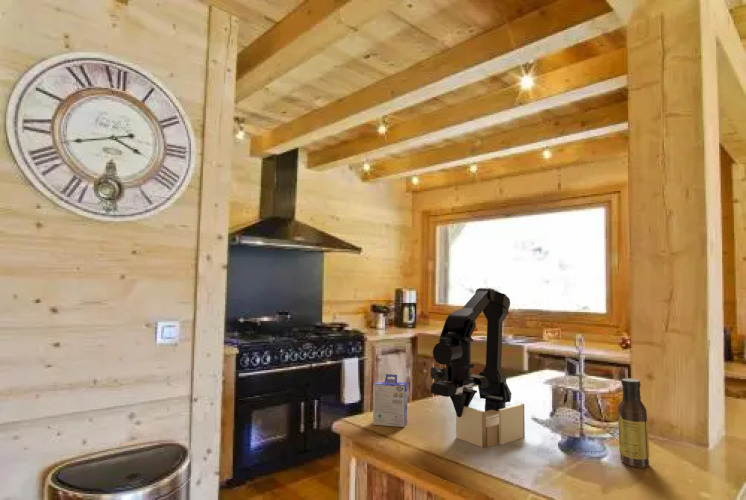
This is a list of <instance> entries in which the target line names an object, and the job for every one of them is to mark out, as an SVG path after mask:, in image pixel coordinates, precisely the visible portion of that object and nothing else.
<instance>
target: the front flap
mask: <svg viewBox="0 0 746 500" xmlns="http://www.w3.org/2000/svg"><path fill="white" fill-rule="evenodd" d="M455 421H456V422H455V433H456V434H455V438H456V439H459V440H461V441H464V442H467V443H470V444H473V445H476V446H477V447H480V448H483V449H486V448H487V447H486V412H485V410H484V411H483V410H480V409H476V408H473V407H469V406H468V407H466V406H464V408H463V412H462V416H461V417H458V416H457V414H456V413H455Z"/></svg>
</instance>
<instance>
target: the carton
mask: <svg viewBox="0 0 746 500" xmlns="http://www.w3.org/2000/svg"><path fill="white" fill-rule="evenodd" d="M484 412H486V448H489V447H491V446H495V445H497V444H498V445H499V411H495V410H489V411H485V410H484Z"/></svg>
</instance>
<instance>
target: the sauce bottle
mask: <svg viewBox="0 0 746 500" xmlns="http://www.w3.org/2000/svg"><path fill="white" fill-rule="evenodd" d="M620 383H621V386H622V399H621V401H620V402H619V404H618V407H617V420H618V443H619V444H618V445H619V447H618V448H619V455H620V461H621V462H622V463H623V464H625V465H627V466H629V467H634V468H637V469H638V468H639V469H641V468H642V469H643V468H648V466H649V465H650V460H649V459H650V444H649V443H650V441H649V424H648V423H649V420H648V410H647V408H646V406H645V405H644V403H643V402H642V398H641V380H639V379H636V378H630V377H629V378H621V382H620Z"/></svg>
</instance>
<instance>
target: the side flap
mask: <svg viewBox="0 0 746 500" xmlns="http://www.w3.org/2000/svg"><path fill="white" fill-rule="evenodd" d="M525 422H526V421H525V404H524V403H518V404H514V405H512V406H508V407H506V408H503V409H499V443H498V445H504V444H508V443H511V442H513V441H517V440H521V439H522V438H525V436H526V435H525V433H526V432H525V431H526V429H525V428H526V427H525Z"/></svg>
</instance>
